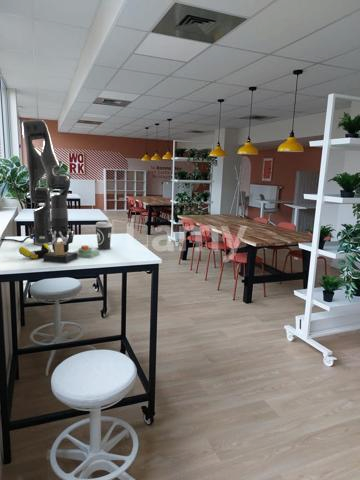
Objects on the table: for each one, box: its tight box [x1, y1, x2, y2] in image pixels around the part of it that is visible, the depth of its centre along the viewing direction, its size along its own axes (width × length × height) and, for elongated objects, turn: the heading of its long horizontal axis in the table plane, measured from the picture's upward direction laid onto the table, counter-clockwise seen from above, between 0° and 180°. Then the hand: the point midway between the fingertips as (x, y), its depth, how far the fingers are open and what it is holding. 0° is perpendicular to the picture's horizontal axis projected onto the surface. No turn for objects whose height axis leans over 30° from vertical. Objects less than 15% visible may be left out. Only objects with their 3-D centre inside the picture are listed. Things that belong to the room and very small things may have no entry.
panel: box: [42, 251, 78, 264], centre depth 165 cm, size 12×10×3 cm
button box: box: [72, 247, 100, 259], centre depth 176 cm, size 11×9×4 cm
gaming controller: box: [18, 243, 52, 260], centre depth 170 cm, size 15×6×10 cm
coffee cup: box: [94, 221, 113, 251], centre depth 192 cm, size 10×10×15 cm
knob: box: [54, 240, 66, 255], centre depth 164 cm, size 5×5×6 cm
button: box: [80, 244, 90, 250], centre depth 175 cm, size 4×4×2 cm
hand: (60, 251), depth 165 cm, fingers closed on knob, 5 cm apart
